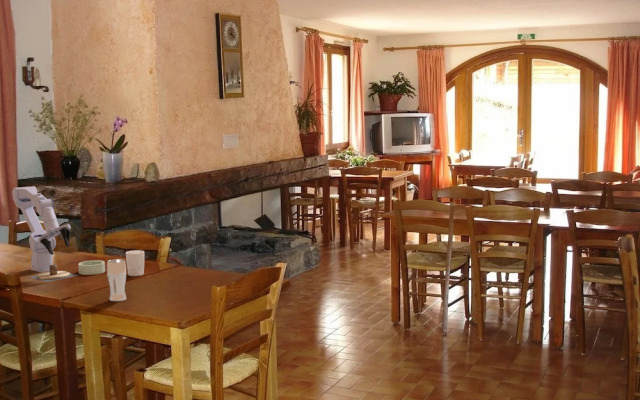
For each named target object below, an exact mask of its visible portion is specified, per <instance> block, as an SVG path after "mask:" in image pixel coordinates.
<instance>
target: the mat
mask: <svg viewBox="0 0 640 400" xmlns="http://www.w3.org/2000/svg"><path fill="white" fill-rule="evenodd" d="M69 273H70V275H69V276H68V277H65V278H61V279H54V280H42V279H38V277H37V275H38V274H37V275H32V276H28V278H30V279H33V280H38V281H41V282H45V283H49V282H50V283H51V282H54V281H61V280H63V279H69V278H73V277H78V276H80V275H79V274H75V273H72V272H69Z"/></svg>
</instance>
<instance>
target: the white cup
mask: <svg viewBox="0 0 640 400" xmlns="http://www.w3.org/2000/svg"><path fill="white" fill-rule="evenodd" d="M125 258H126V259H125V263H126V270H127V275H128V276H129V277H138V276H139V277H140V276H143V275H144V274H145V272H144V271H145V251H144V250H141V249H140V250H139V249H138V250H136V249H135V250H129V251H126V252H125Z"/></svg>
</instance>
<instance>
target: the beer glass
mask: <svg viewBox="0 0 640 400" xmlns="http://www.w3.org/2000/svg"><path fill="white" fill-rule="evenodd" d="M106 262H107V263H106V273H107V280H108V285H109V290H110V291H109V293H110V294H109V301H110V302H115V303H116V302H117V303H118V302H123V301H126V300H127V295H126V290H125V289H126V281H127V263H126V259H123V258H114V259H109V260H107V261H106Z"/></svg>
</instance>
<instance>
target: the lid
mask: <svg viewBox="0 0 640 400" xmlns="http://www.w3.org/2000/svg"><path fill="white" fill-rule="evenodd" d="M49 268H50V271H45V272H40V273H39V274H37V277H38V279H42V280H54V279H60V280H62V279H61V278H65V277H68V276H69V275H70V273H71V272H68V271H64V270H58V265H57V264H53V265H49ZM65 279H66V278H65Z"/></svg>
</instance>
